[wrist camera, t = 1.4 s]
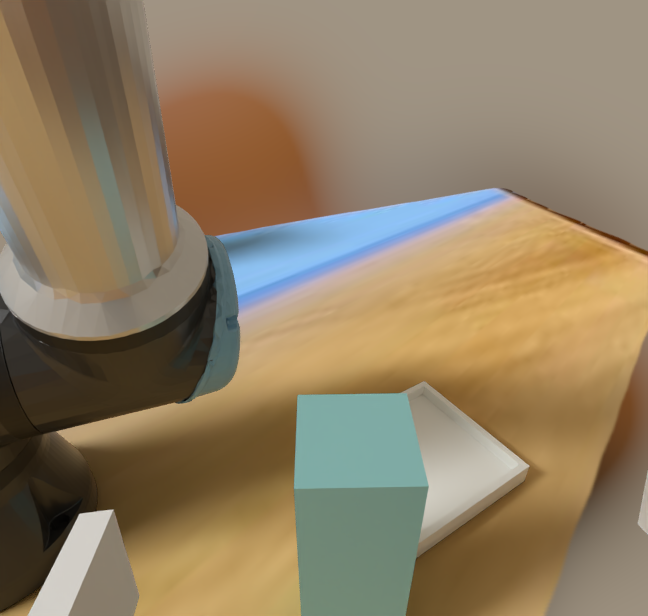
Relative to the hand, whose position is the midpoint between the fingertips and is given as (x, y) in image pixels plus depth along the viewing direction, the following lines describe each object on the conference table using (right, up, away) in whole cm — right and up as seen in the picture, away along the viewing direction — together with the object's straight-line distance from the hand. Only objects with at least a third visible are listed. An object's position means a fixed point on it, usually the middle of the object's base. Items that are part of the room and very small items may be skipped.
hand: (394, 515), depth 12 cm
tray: (+7, -9, +33) cm, 35 cm away
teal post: (0, -16, +22) cm, 27 cm away
